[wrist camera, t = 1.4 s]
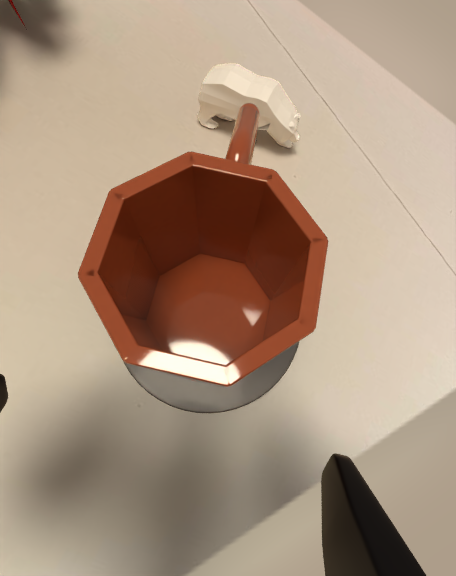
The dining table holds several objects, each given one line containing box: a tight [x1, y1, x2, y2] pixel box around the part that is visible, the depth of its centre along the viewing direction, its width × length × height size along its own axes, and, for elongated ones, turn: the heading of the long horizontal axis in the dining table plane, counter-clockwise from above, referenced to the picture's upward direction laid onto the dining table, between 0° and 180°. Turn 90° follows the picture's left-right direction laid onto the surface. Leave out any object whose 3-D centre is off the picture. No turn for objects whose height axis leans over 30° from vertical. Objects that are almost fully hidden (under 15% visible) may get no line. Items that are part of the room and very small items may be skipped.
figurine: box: [197, 63, 301, 148], centre depth 24 cm, size 2×8×5 cm, turn 63°
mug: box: [78, 103, 328, 387], centre depth 14 cm, size 11×7×8 cm, turn 167°
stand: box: [124, 342, 299, 413], centre depth 19 cm, size 10×10×4 cm
